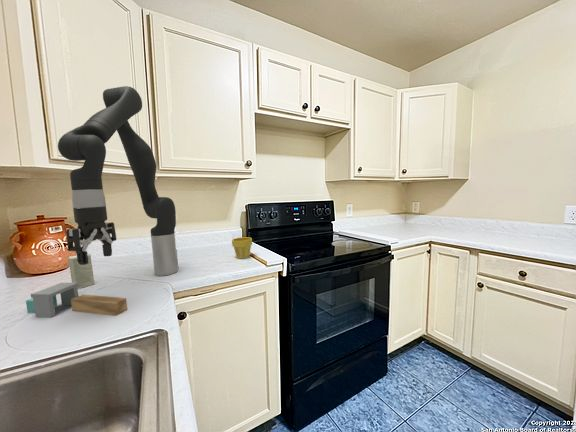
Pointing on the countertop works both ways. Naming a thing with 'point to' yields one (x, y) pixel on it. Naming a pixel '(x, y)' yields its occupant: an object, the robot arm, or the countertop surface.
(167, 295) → the countertop surface
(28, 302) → the block
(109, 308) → the rod
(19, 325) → the countertop surface
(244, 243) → the plant pot
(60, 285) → the tunnel
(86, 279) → the skincare box
